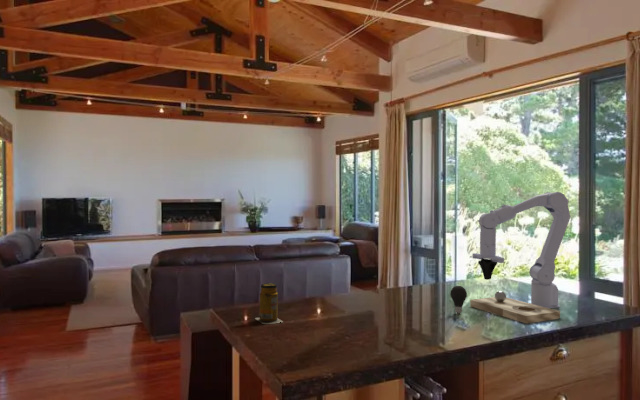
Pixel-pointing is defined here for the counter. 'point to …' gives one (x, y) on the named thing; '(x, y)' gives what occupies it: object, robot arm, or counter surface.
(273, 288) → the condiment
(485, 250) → the robot arm
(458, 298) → the light bulb
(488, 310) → the deck
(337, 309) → the counter surface
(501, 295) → the ball
